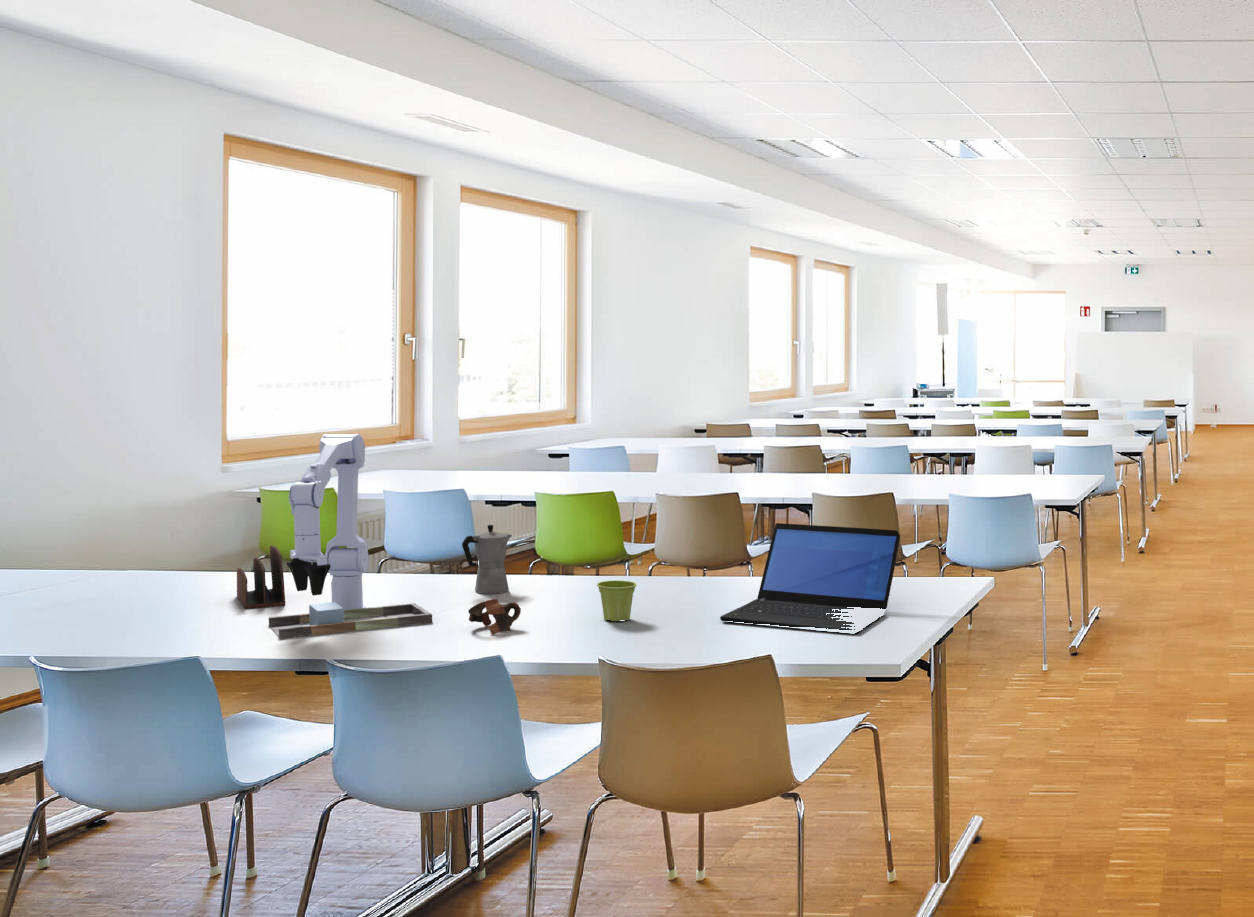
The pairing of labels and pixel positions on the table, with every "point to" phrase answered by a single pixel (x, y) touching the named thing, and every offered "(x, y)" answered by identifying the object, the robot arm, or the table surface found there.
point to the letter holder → (263, 584)
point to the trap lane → (394, 614)
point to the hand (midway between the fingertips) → (309, 592)
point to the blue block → (325, 613)
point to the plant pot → (616, 599)
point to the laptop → (821, 575)
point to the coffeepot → (489, 560)
